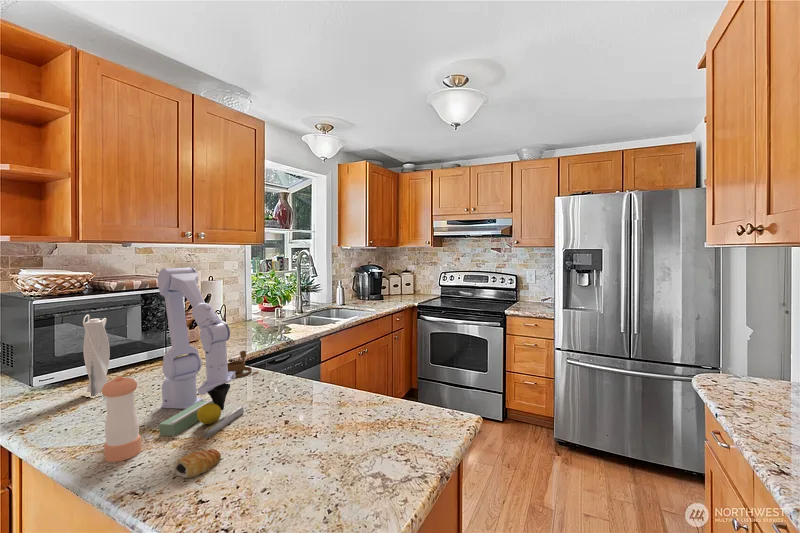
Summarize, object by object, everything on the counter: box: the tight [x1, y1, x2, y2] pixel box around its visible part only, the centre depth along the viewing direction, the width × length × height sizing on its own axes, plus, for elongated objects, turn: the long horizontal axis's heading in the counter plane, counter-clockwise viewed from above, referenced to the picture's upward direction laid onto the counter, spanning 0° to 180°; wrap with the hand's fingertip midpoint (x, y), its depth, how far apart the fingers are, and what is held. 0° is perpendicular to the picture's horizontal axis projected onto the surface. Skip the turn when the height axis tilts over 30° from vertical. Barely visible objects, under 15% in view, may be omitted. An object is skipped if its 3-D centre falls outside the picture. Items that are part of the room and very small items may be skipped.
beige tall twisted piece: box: [82, 314, 111, 396], centre depth 138 cm, size 8×8×28 cm
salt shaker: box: [101, 375, 142, 463], centre depth 95 cm, size 7×7×19 cm
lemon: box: [197, 403, 222, 425], centre depth 111 cm, size 6×6×8 cm
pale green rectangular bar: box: [158, 399, 214, 437], centre depth 112 cm, size 4×16×4 cm, turn 169°
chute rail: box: [203, 405, 244, 439], centre depth 110 cm, size 1×16×2 cm, turn 170°
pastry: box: [173, 448, 222, 479], centre depth 88 cm, size 9×7×4 cm
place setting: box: [227, 350, 259, 379], centre depth 161 cm, size 18×20×6 cm
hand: (219, 410), depth 115 cm, fingers closed, pressing on lemon
